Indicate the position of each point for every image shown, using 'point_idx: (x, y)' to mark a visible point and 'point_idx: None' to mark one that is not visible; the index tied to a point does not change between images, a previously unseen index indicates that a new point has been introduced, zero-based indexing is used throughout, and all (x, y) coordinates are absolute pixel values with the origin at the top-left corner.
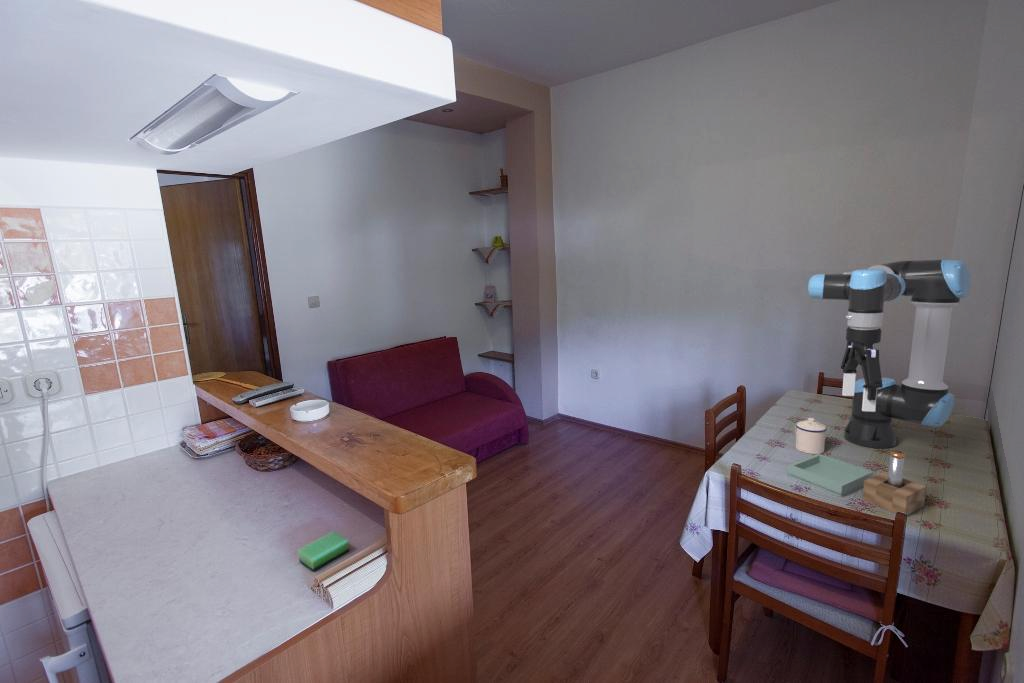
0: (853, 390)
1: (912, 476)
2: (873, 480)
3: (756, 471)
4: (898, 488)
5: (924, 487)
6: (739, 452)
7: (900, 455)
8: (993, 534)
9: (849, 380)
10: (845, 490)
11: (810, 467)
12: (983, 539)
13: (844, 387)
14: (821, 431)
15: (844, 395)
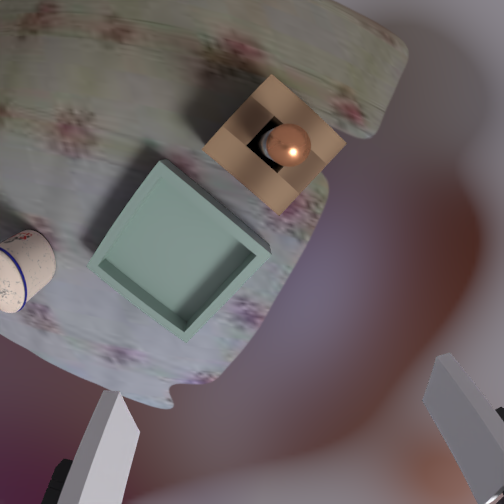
0: (110, 423)
1: (107, 67)
2: (270, 191)
3: (191, 374)
4: None
5: (278, 80)
6: (113, 385)
7: (310, 144)
8: (351, 20)
9: (102, 502)
10: (257, 237)
11: (141, 282)
12: (375, 45)
13: (126, 472)
14: (16, 263)
15: (137, 428)
